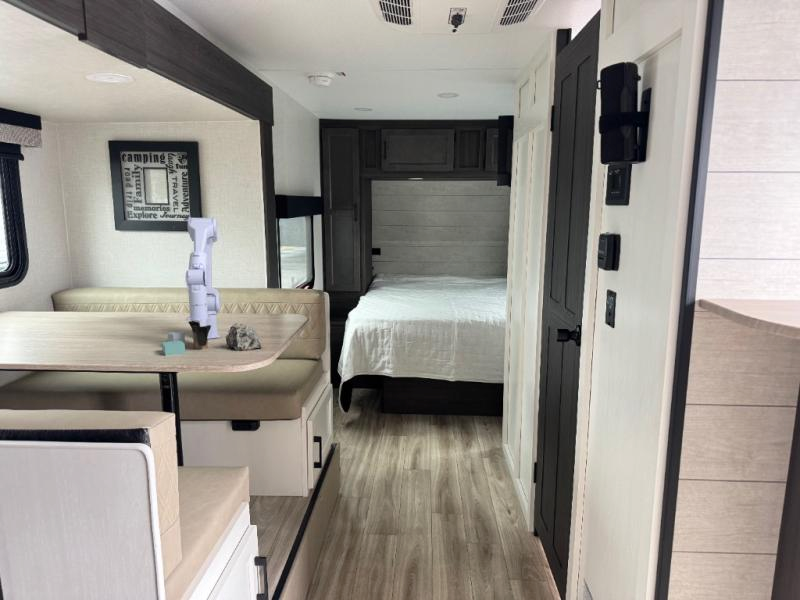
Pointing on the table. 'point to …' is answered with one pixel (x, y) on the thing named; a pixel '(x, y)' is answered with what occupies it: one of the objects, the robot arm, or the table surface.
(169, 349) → the teal slab
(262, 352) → the table surface
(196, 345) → the walnut block
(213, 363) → the table surface
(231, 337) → the rock
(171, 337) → the bluegrey block
